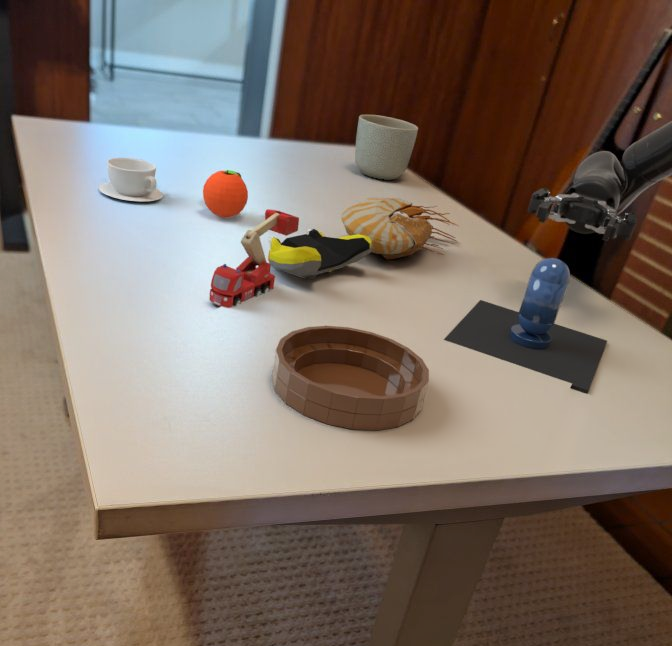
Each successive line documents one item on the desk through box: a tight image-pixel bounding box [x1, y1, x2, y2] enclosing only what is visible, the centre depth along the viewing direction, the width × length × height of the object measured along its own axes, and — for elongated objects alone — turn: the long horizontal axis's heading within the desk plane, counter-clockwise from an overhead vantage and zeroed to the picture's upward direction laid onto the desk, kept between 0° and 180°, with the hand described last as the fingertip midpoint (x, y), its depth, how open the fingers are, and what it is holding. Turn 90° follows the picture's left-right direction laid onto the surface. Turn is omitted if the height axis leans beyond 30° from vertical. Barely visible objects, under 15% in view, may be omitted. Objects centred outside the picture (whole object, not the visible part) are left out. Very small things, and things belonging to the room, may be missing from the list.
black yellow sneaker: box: [267, 228, 372, 280], centre depth 103 cm, size 15×6×10 cm
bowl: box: [271, 325, 430, 431], centre depth 75 cm, size 15×15×4 cm
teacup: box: [97, 157, 164, 202], centre depth 119 cm, size 10×10×5 cm
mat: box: [443, 299, 608, 394], centre depth 96 cm, size 18×18×1 cm
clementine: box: [202, 169, 249, 219], centre depth 117 cm, size 8×7×7 cm
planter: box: [354, 114, 419, 181], centre depth 158 cm, size 12×12×11 cm
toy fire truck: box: [209, 208, 300, 309], centre depth 91 cm, size 3×14×10 cm, turn 151°
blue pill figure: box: [509, 257, 571, 349], centre depth 93 cm, size 5×5×11 cm
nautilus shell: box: [340, 196, 459, 261], centre depth 116 cm, size 8×22×15 cm
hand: (575, 223), depth 98 cm, fingers open, 8 cm apart
